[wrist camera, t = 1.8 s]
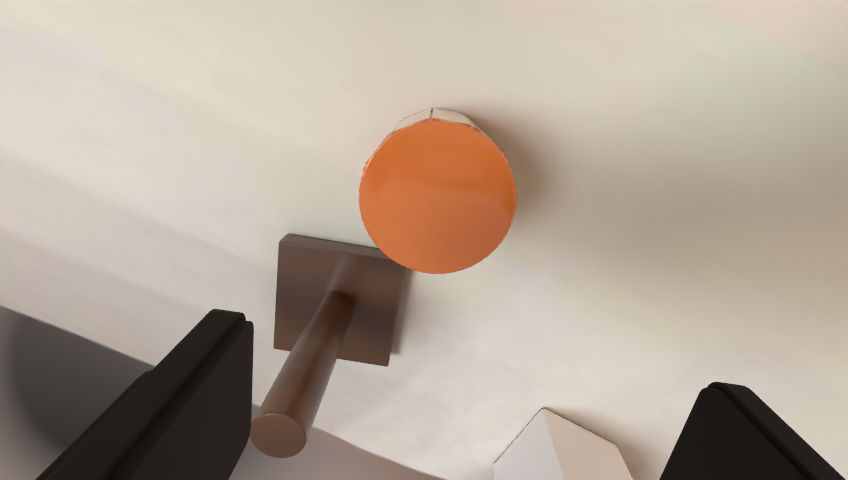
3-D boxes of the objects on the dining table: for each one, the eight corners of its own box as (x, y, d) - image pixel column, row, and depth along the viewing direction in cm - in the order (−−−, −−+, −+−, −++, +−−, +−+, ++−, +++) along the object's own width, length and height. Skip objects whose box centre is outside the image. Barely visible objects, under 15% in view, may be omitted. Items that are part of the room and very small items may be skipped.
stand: (287, 233, 28) (178, 340, 16) (406, 253, 28) (384, 373, 17) (281, 336, 31) (184, 491, 19) (390, 353, 31) (361, 518, 19)
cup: (390, 100, 25) (368, 107, 17) (503, 120, 25) (534, 136, 17) (376, 209, 28) (350, 261, 20) (479, 227, 28) (496, 285, 20)
